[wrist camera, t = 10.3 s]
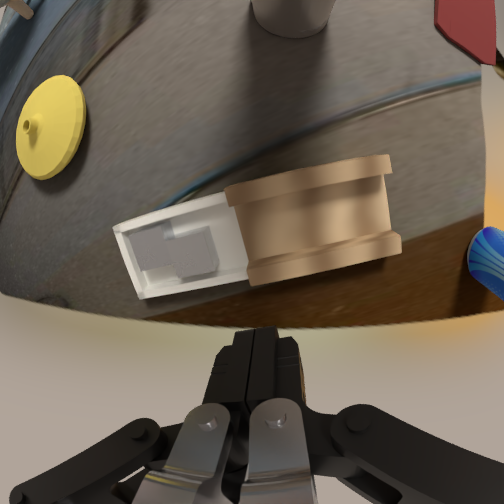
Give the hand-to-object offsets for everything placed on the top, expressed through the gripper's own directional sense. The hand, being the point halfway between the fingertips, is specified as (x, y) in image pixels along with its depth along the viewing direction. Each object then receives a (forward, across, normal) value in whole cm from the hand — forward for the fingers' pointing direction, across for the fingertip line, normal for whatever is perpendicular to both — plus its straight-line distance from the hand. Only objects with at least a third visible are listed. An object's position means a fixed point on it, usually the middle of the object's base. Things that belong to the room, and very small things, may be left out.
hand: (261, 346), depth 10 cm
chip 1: (+22, +14, 0) cm, 26 cm away
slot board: (+23, -5, 0) cm, 24 cm away
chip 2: (+22, +9, +1) cm, 24 cm away
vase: (+23, +27, -22) cm, 42 cm away
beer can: (+23, -31, +11) cm, 40 cm away
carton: (+24, -41, -31) cm, 57 cm away
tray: (+23, +11, +1) cm, 25 cm away
